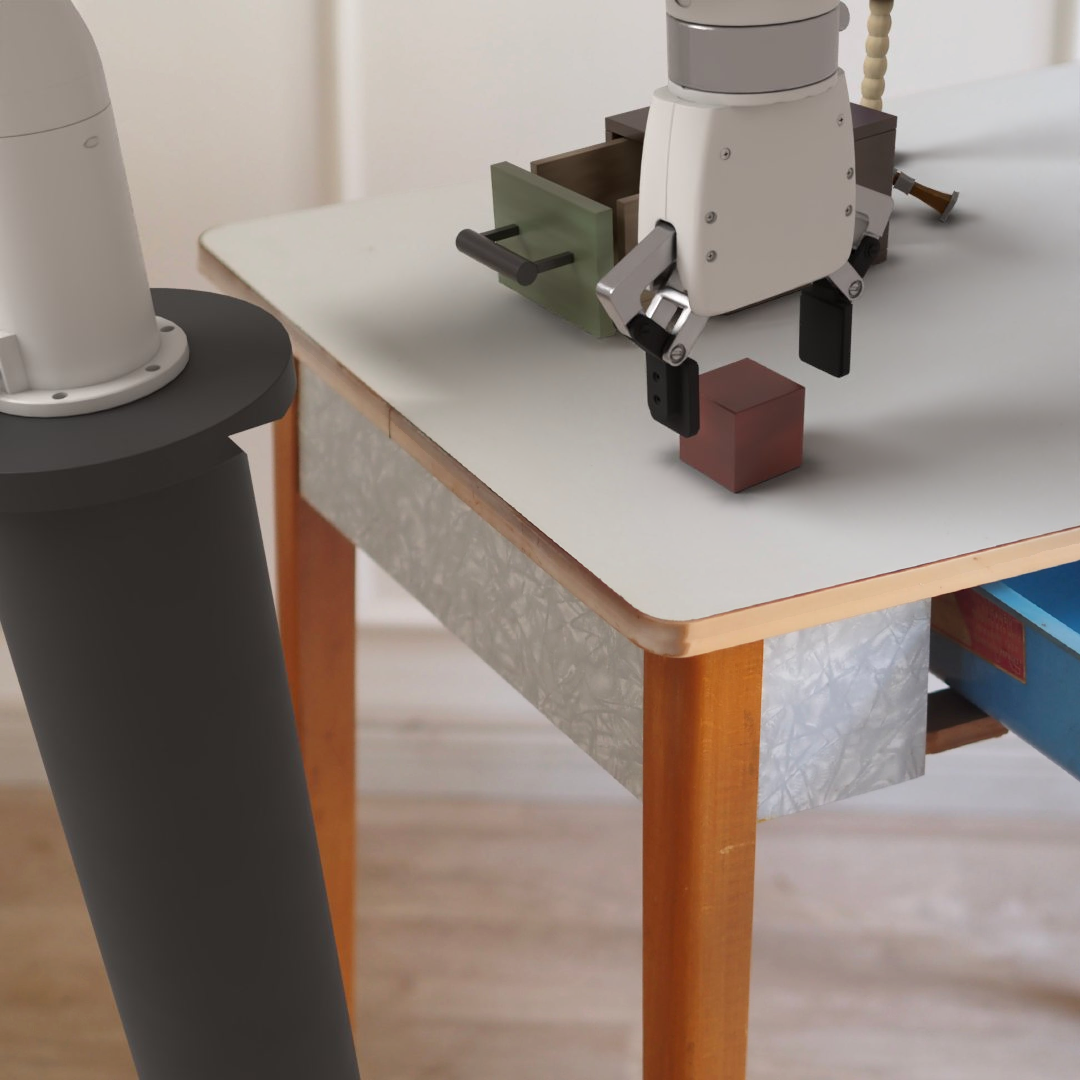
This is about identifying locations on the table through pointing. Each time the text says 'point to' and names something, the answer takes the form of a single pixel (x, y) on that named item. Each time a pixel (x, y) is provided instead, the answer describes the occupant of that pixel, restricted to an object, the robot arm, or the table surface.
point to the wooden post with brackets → (925, 194)
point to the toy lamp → (876, 53)
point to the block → (746, 425)
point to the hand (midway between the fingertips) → (751, 396)
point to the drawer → (564, 228)
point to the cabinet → (870, 149)
